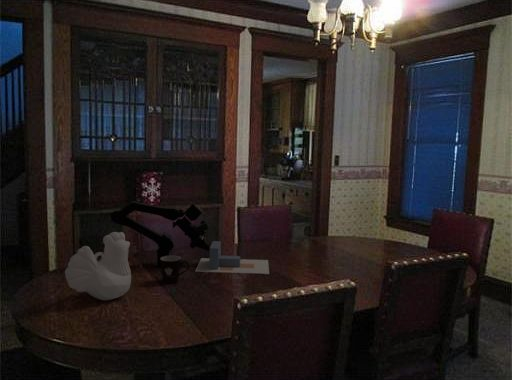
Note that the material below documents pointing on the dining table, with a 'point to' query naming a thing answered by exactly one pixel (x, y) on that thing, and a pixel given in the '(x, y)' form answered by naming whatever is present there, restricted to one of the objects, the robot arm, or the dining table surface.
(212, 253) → the t block
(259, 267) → the t mat
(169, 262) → the coffee mug
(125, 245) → the decorative rooster
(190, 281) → the dining table surface
